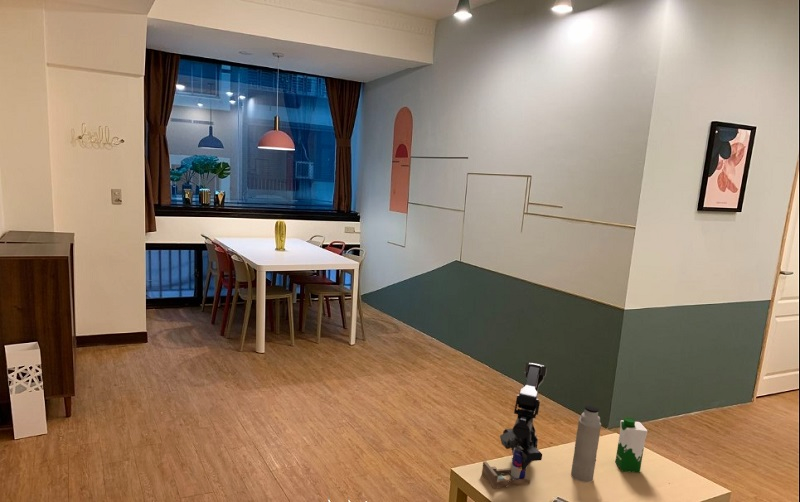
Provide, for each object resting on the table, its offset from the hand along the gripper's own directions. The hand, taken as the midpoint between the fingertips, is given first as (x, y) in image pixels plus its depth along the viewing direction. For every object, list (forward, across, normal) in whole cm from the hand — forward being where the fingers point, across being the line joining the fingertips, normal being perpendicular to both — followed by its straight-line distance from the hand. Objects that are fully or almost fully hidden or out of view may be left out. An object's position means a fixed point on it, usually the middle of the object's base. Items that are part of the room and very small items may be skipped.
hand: (519, 465), depth 198 cm
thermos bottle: (+5, +4, +26) cm, 27 cm away
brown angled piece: (+5, 0, -5) cm, 7 cm away
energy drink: (+5, 0, 0) cm, 5 cm away
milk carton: (+5, +1, +49) cm, 49 cm away
